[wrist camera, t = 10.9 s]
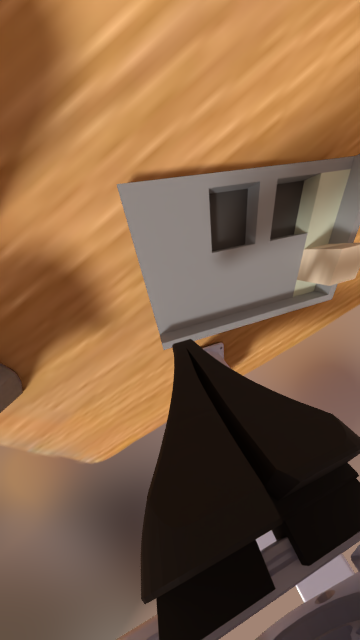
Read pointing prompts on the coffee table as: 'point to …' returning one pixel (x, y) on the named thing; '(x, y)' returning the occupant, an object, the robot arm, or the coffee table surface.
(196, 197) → the box
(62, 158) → the coffee table surface
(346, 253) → the block
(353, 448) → the robot arm
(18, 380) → the coffeepot
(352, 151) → the coffee table surface
